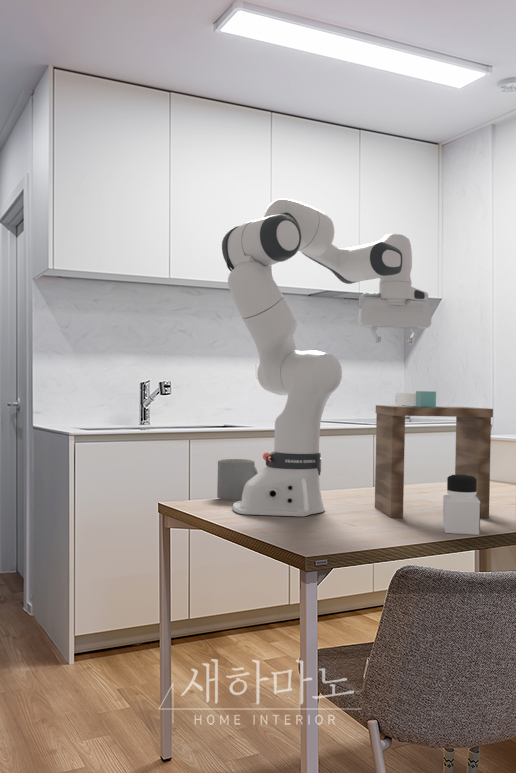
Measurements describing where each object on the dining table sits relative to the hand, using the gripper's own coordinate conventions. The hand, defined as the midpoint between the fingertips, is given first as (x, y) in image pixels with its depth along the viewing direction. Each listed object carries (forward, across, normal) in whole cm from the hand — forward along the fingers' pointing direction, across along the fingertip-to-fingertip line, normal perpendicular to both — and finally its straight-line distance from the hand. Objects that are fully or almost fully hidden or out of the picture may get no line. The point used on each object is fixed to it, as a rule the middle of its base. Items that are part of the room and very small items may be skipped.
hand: (394, 343), depth 194 cm
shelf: (+43, +3, -23) cm, 49 cm away
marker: (+17, 0, -18) cm, 25 cm away
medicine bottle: (+43, +2, -45) cm, 62 cm away
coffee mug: (+43, -42, 0) cm, 60 cm away
